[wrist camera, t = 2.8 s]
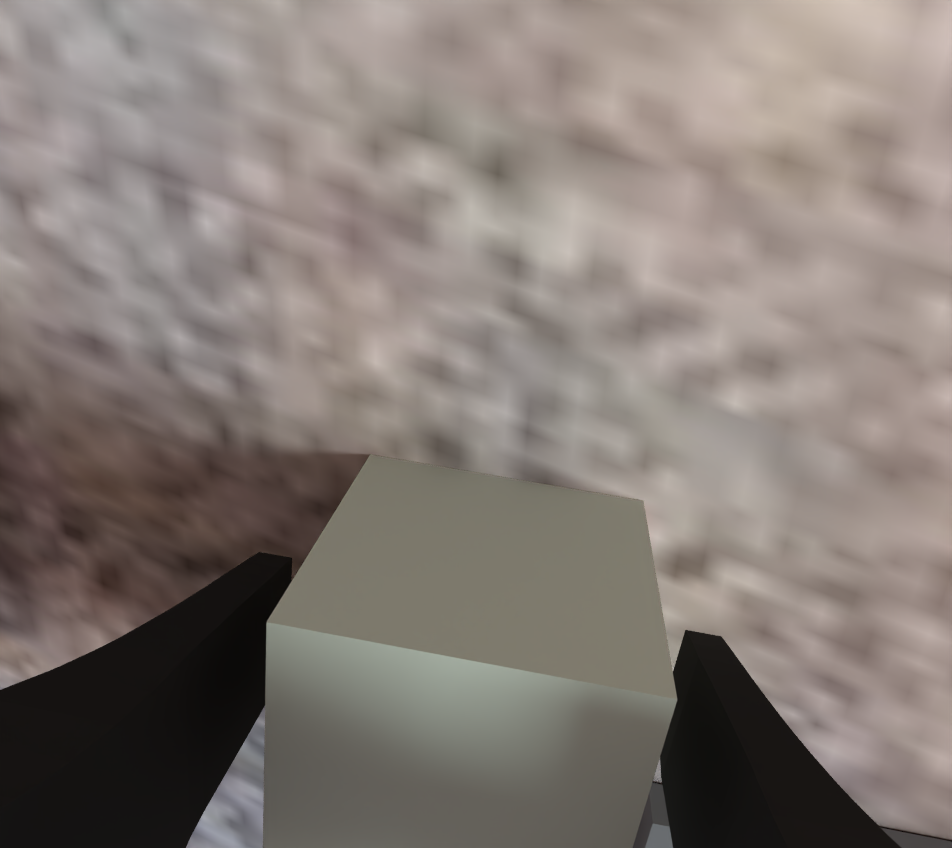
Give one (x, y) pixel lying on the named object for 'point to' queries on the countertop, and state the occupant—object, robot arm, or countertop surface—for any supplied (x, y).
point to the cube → (466, 669)
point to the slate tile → (657, 843)
